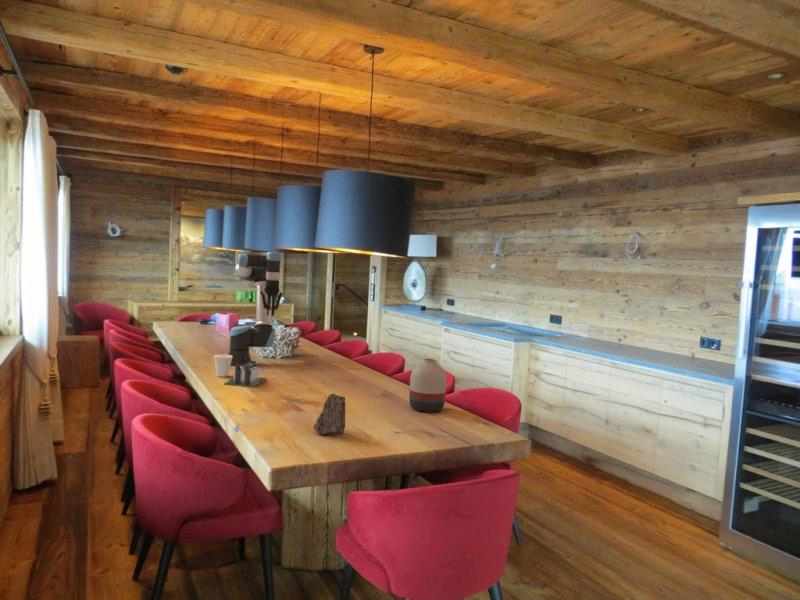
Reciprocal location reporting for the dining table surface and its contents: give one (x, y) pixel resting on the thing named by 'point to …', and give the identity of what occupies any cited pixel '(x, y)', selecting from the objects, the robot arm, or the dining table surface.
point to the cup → (222, 365)
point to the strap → (245, 365)
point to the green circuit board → (246, 376)
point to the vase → (427, 386)
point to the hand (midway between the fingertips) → (270, 321)
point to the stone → (331, 416)
